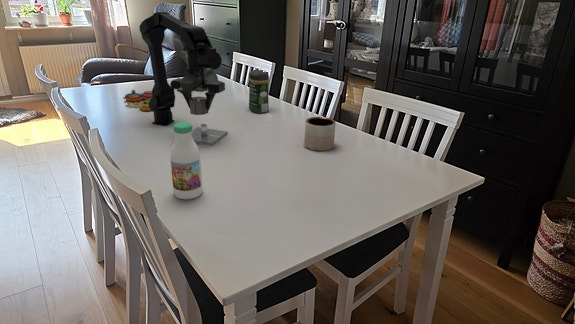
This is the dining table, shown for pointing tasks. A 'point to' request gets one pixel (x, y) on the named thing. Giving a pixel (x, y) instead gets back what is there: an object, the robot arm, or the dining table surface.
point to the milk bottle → (185, 163)
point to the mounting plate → (207, 135)
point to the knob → (198, 105)
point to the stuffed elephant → (209, 73)
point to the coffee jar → (258, 91)
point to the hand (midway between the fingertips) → (199, 108)
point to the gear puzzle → (138, 100)
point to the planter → (319, 133)
